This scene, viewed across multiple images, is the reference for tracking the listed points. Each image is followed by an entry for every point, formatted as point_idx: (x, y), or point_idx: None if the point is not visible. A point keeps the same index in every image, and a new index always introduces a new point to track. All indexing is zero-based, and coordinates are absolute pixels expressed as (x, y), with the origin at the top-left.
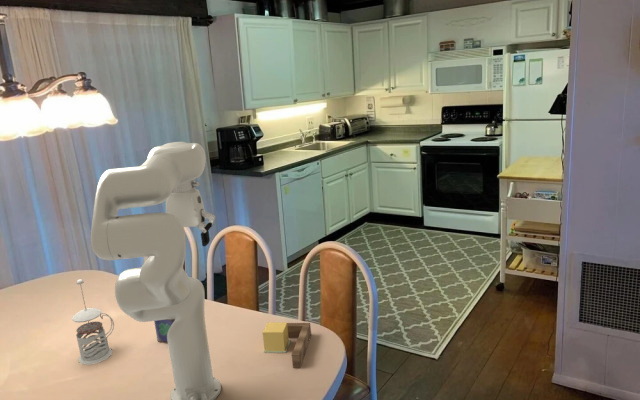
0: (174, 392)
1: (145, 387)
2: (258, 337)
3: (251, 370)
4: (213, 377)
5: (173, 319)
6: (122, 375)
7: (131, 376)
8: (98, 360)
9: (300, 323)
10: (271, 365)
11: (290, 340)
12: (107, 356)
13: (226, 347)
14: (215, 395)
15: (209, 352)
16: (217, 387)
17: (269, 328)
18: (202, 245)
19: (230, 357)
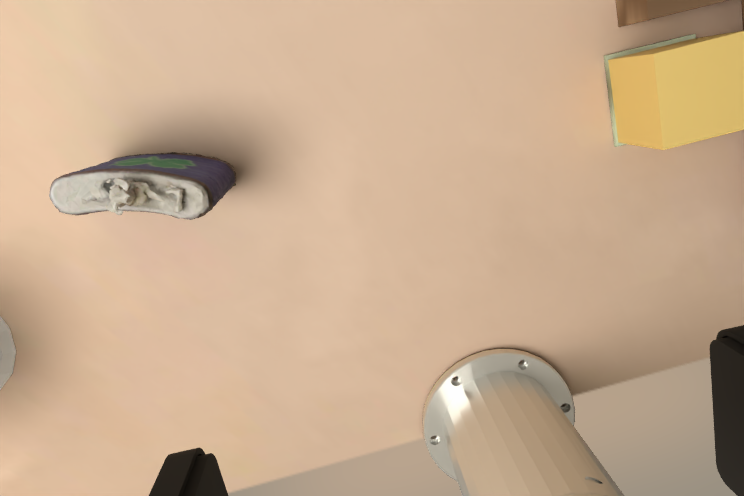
0: (441, 452)
1: (311, 436)
2: (543, 40)
3: (613, 263)
4: (521, 356)
5: (201, 214)
6: (176, 410)
7: (214, 406)
8: (1, 376)
9: None
10: (672, 217)
11: (695, 36)
12: (7, 342)
13: (446, 151)
14: (573, 424)
15: (596, 458)
16: (562, 395)
17: (682, 107)
18: (727, 483)
19: (499, 211)
